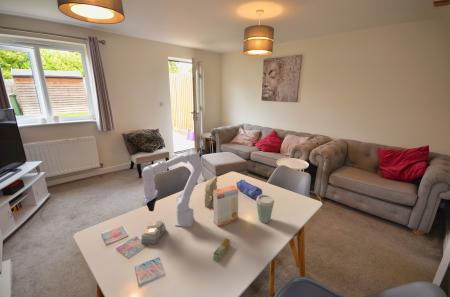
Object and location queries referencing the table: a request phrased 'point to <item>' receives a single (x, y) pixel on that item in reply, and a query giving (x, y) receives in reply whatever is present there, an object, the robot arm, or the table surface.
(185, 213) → the robot arm
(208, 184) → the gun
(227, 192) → the cracker box
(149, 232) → the breaker
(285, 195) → the table surface
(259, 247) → the table surface
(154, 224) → the breaker
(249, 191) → the pencil case
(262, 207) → the disposable coffee cup
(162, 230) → the breaker panel
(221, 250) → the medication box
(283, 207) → the table surface
